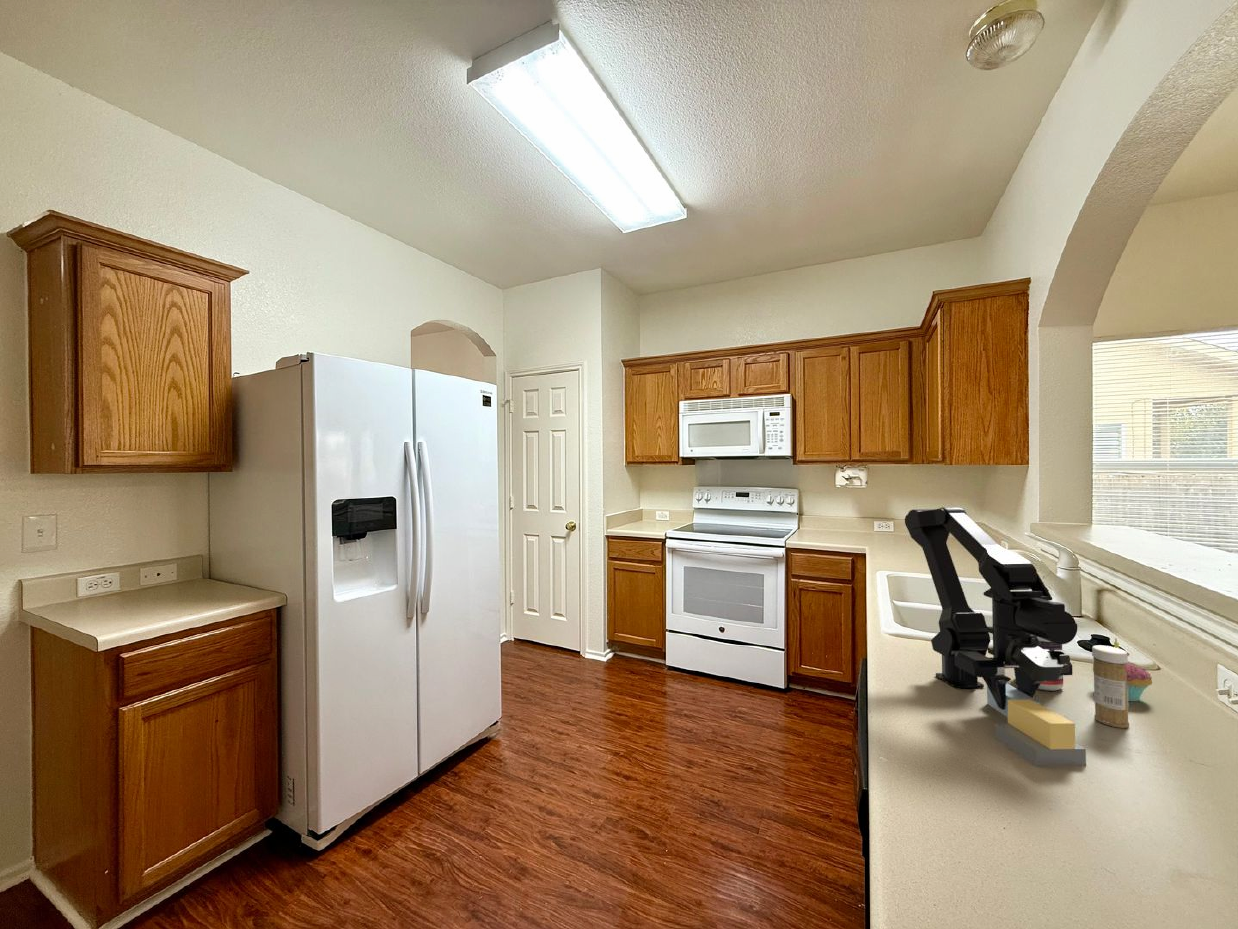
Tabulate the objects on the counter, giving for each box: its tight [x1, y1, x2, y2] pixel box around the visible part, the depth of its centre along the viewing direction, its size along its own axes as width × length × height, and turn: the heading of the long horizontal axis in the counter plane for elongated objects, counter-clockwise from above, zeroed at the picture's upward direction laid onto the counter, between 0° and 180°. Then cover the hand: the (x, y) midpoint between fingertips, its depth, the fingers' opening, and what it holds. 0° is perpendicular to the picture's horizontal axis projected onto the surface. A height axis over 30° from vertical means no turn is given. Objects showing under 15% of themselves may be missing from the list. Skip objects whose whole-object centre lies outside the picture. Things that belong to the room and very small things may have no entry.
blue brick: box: [986, 683, 1042, 718], centre depth 93 cm, size 8×4×4 cm, turn 177°
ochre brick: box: [1007, 700, 1076, 749], centre depth 80 cm, size 8×4×4 cm, turn 2°
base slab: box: [994, 722, 1087, 768], centre depth 80 cm, size 8×8×3 cm
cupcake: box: [1092, 638, 1153, 702], centre depth 100 cm, size 9×8×12 cm
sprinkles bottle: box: [1091, 644, 1130, 729], centre depth 89 cm, size 5×5×14 cm
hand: (1013, 708), depth 93 cm, fingers closed on blue brick, 4 cm apart
